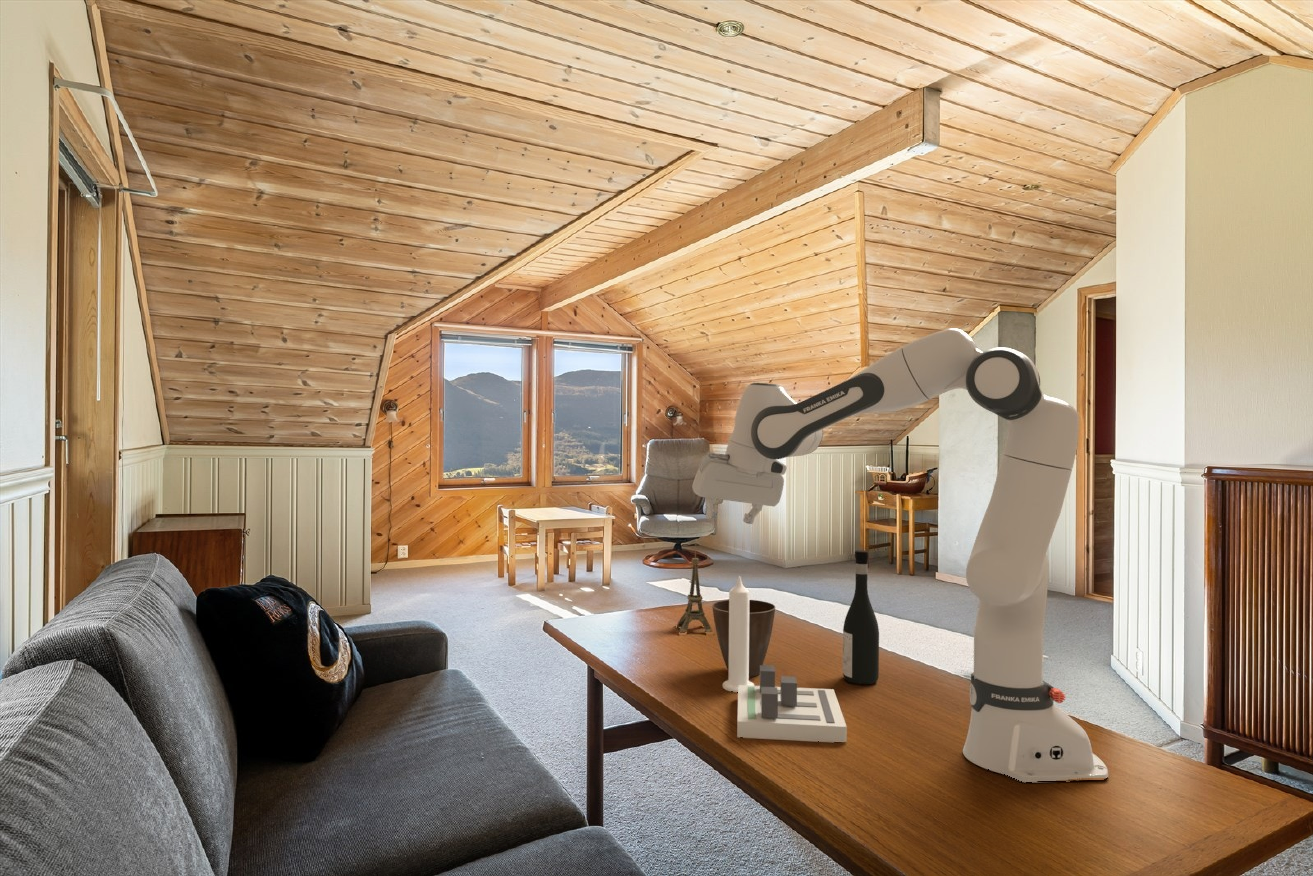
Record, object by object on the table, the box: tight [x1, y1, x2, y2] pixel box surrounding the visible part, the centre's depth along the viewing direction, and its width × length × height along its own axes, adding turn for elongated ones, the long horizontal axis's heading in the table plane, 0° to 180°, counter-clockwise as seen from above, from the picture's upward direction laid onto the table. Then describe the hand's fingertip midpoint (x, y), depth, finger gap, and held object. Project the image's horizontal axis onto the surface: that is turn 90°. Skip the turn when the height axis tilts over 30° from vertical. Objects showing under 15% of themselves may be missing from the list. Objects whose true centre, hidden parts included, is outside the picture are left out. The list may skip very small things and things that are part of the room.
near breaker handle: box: [761, 686, 778, 718], centre depth 146 cm, size 3×4×4 cm
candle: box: [722, 575, 755, 693], centre depth 171 cm, size 7×7×25 cm
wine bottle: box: [842, 549, 880, 686], centre depth 177 cm, size 8×8×30 cm
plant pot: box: [712, 599, 776, 678], centre depth 182 cm, size 15×15×16 cm
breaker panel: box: [736, 685, 848, 743], centre depth 152 cm, size 20×21×3 cm
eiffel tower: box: [676, 543, 714, 633], centre depth 221 cm, size 11×11×25 cm
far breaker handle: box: [759, 664, 776, 692], centre depth 160 cm, size 3×4×4 cm
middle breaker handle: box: [779, 675, 798, 706], centre depth 152 cm, size 3×4×4 cm
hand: (729, 520), depth 161 cm, fingers open, 8 cm apart
